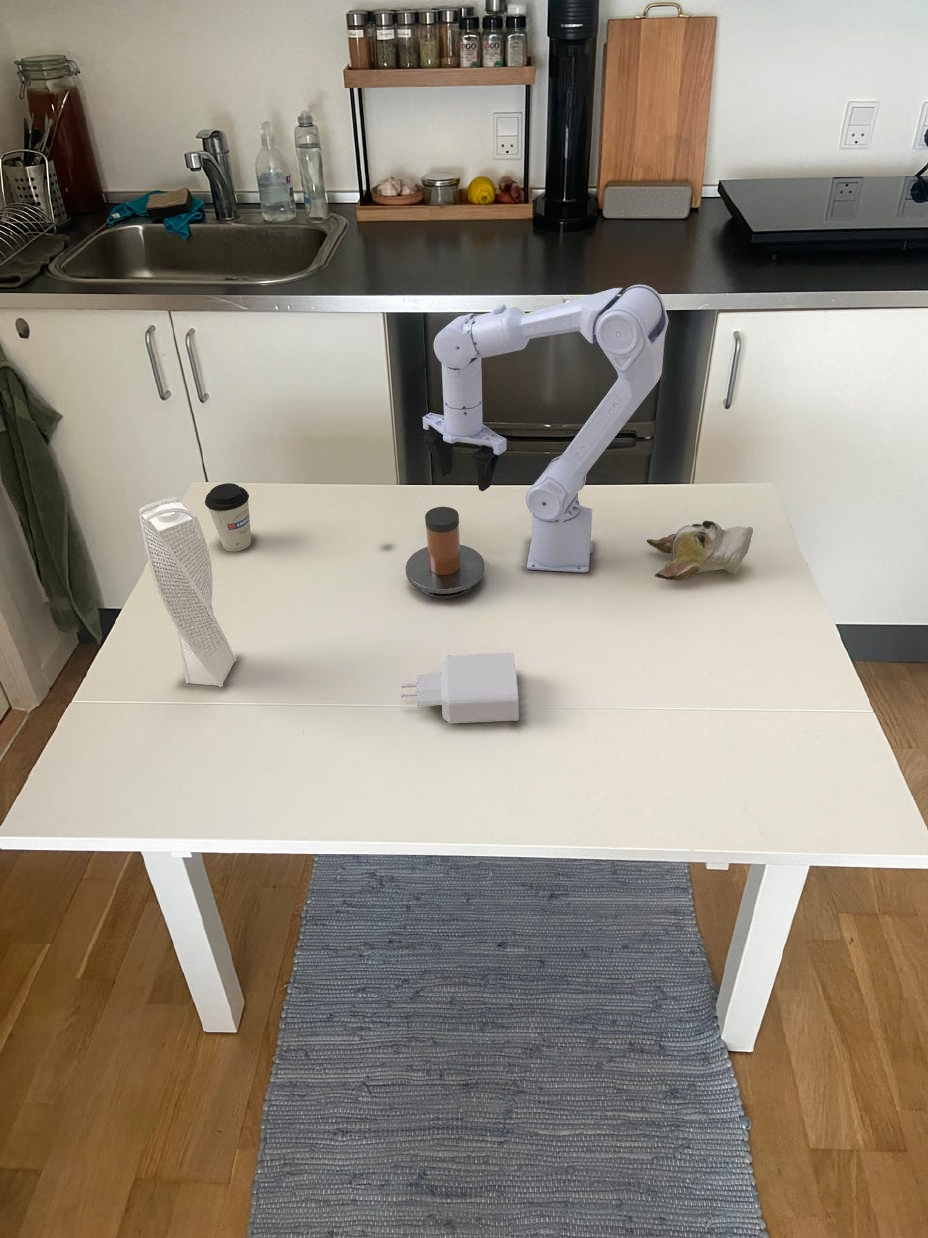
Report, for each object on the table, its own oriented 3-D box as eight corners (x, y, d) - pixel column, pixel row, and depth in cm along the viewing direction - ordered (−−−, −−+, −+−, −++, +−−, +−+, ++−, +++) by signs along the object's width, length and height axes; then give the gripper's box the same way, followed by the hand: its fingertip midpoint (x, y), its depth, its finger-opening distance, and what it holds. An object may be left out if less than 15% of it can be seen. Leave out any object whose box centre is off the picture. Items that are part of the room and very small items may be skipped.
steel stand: (489, 560, 147) (489, 545, 145) (479, 608, 138) (479, 591, 136) (415, 556, 149) (413, 541, 147) (400, 603, 140) (398, 587, 138)
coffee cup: (207, 545, 154) (193, 493, 147) (240, 526, 158) (229, 475, 151) (233, 560, 150) (220, 507, 144) (267, 541, 154) (256, 488, 148)
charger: (403, 680, 126) (514, 675, 126) (401, 729, 119) (519, 724, 119) (400, 653, 124) (514, 648, 123) (398, 702, 116) (518, 697, 116)
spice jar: (463, 557, 143) (461, 507, 137) (458, 576, 139) (455, 525, 134) (431, 555, 144) (428, 505, 138) (426, 574, 140) (422, 523, 134)
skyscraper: (226, 695, 125) (178, 518, 108) (174, 690, 127) (118, 515, 109) (246, 656, 132) (203, 483, 114) (196, 652, 133) (146, 480, 115)
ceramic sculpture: (762, 538, 133) (656, 545, 135) (756, 587, 139) (654, 593, 140) (746, 499, 142) (646, 506, 143) (741, 546, 147) (645, 553, 148)
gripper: (407, 398, 139) (413, 477, 147) (485, 424, 132) (487, 506, 140) (437, 380, 143) (441, 459, 152) (515, 405, 136) (514, 486, 145)
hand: (465, 480), depth 146 cm, fingers open, 7 cm apart
